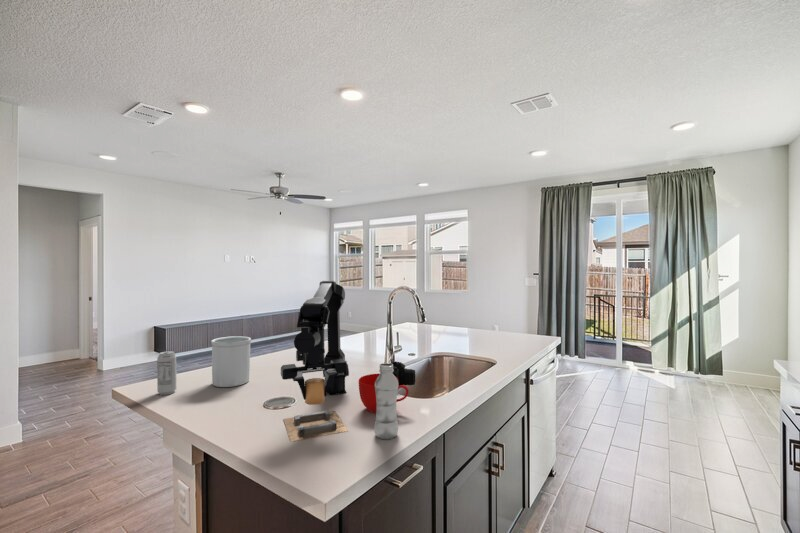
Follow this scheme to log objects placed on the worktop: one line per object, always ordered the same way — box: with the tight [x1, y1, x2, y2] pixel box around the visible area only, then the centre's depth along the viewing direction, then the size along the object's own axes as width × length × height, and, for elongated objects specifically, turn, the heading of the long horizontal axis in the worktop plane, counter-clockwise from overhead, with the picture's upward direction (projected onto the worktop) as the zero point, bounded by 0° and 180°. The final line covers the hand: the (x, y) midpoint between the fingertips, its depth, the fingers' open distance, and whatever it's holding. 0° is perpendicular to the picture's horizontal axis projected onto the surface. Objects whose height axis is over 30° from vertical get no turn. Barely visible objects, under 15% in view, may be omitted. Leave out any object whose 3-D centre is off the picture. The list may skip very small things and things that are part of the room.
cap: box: [304, 377, 325, 406], centre depth 110 cm, size 6×6×6 cm
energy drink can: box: [156, 350, 177, 396], centre depth 139 cm, size 6×6×15 cm
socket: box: [283, 410, 349, 443], centre depth 110 cm, size 16×16×2 cm
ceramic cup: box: [358, 373, 409, 414], centre depth 122 cm, size 13×17×10 cm
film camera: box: [391, 360, 416, 386], centre depth 147 cm, size 15×10×9 cm, turn 169°
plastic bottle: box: [373, 362, 399, 440], centre depth 103 cm, size 6×7×20 cm
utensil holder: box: [210, 335, 252, 388], centre depth 152 cm, size 15×15×18 cm
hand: (314, 397), depth 110 cm, fingers closed on cap, 6 cm apart
